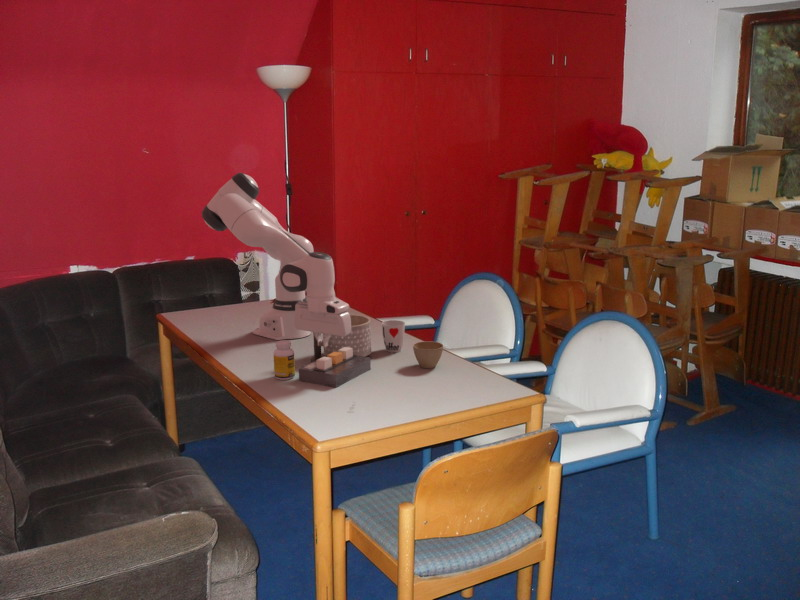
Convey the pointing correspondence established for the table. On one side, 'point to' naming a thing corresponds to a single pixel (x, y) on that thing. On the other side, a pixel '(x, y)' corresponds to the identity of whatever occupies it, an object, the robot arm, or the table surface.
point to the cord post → (316, 350)
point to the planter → (353, 338)
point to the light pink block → (324, 363)
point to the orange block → (336, 357)
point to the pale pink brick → (346, 352)
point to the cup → (393, 335)
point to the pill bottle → (284, 360)
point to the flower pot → (428, 353)
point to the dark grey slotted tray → (335, 371)
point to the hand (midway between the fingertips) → (322, 345)
